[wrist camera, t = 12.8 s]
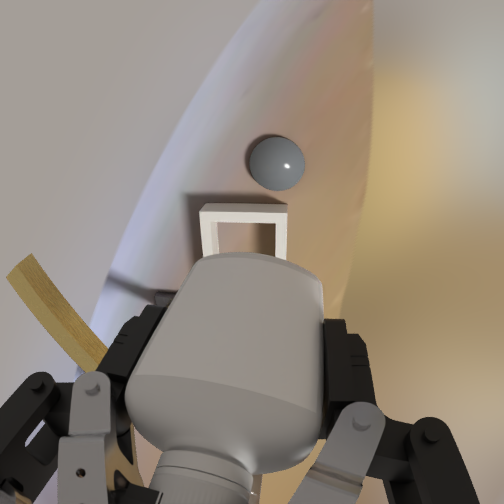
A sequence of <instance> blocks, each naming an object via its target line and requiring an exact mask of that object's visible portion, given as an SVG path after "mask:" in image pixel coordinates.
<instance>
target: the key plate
mask: <svg viewBox="0 0 504 504" xmlns="http://www.w3.org/2000/svg"><path fill="white" fill-rule="evenodd" d="M176 294H177V293H167V292H157V293H156V295H155V296H154V297H155V301H156V306H165V307H167V306H169V305H170V304H171V302H172V300H173V299H174V297H175V295H176Z"/></svg>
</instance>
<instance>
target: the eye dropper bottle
mask: <svg viewBox="0 0 504 504" xmlns="http://www.w3.org/2000/svg"><path fill="white" fill-rule="evenodd" d="M323 321H324V315H323V291H322V283H321V282H320V280H319V279H318V278H317V277H316V276H315V275H314V274H313V273H311V272H310V271H308V270H306V269H304V268H302V267H300V266H298V265H296V264H294V263H291V262H289V261H286V260H283V259H281V258H277V257H274V256H270V255H265V254H259V253H251V252H228V253H219V254H213V255H209V256H206V257H203V258H201V259H200V260H198V261H197V262H196V263H195V264H194V266H193V267H192V269H191V270H190V272H189V274H188V275H187V277H186V279H185V280H184V282H183V284H182V285H181V287H180V289H179V290H178V292H177V294H176V295H175V297H174V299H173V300H172V302H171V304H170V305H169V307H168V309H167V311H166V312H165V314H164V316H163V317H162V319H161V321H160V323H159V324H158V326H157V328H156V330H155V331H154V333H153V335H152V337H151V338H150V340H149V342H148V344H147V346H146V347H145V349H144V351H143V353H142V355H141V357H140V358H139V360H138V362H137V364H136V366H135V368H134V370H133V372H132V374H131V376H130V378H129V381H128V383H127V386H126V390H125V404H126V408H127V411H128V414H129V417H130V419H131V421H132V423H133V425H134V427H135V428H136V430H137V431H138V432H139V433H140V434H141V435H142V436H143V437H144V438H145V439H146V440H147V441H148V442H150V443H151V444H152V445H154V446H155V447H156V448H158V449H159V450H161V451H163V452H164V453H162V454H161V457H160V459H159V462H158V464H157V467H156V470H155V472H154V475H153V478H152V480H151V483H150V485H149V489H153V490H157V491H160V493H159V495H158V498H157V501H156V504H158V502H159V499H160V496H161V493H163V496H162V499H161V502H160V504H248V503H249V499H250V494H251V489H252V484H253V476H252V475H259V474H267V473H273V472H277V471H282V470H286V469H289V468H291V467H293V466H296V465H297V464H299V463H301V462H302V461H304V459H306V458H307V456H308V455H309V454H310V452H311V451H312V450H313V448H314V446H315V445H316V443H317V440H318V438H319V435H320V433H321V427H322V418H323V398H324V334H323Z"/></svg>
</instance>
